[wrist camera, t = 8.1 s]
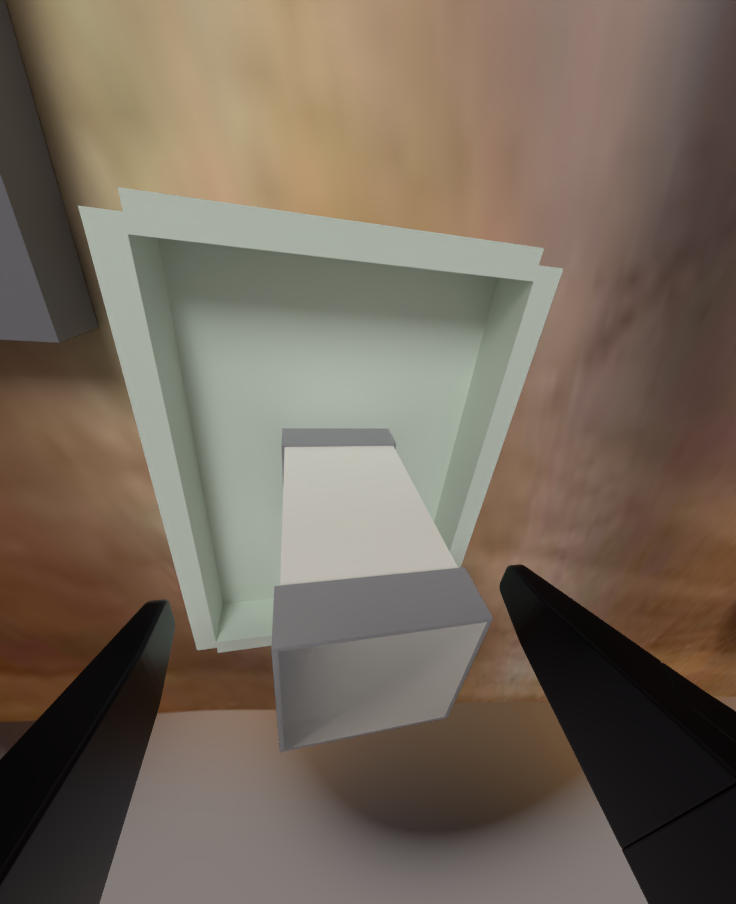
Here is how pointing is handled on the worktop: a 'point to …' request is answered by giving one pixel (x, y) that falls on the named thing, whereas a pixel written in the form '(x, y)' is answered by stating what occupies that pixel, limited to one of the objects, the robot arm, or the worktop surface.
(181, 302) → the parts tray
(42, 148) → the socket frame
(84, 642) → the worktop surface
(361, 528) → the block
